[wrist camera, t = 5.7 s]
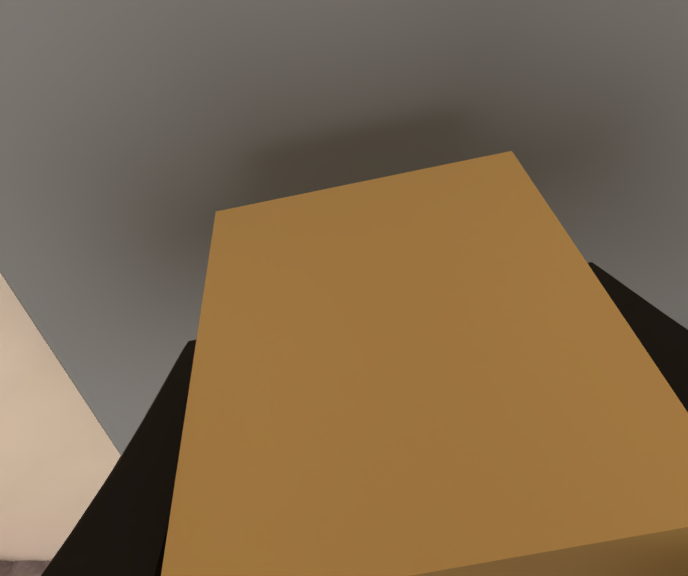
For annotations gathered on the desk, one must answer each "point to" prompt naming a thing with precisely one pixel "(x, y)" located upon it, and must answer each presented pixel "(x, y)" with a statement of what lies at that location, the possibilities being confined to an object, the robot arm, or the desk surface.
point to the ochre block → (421, 394)
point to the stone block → (23, 568)
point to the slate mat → (310, 144)
